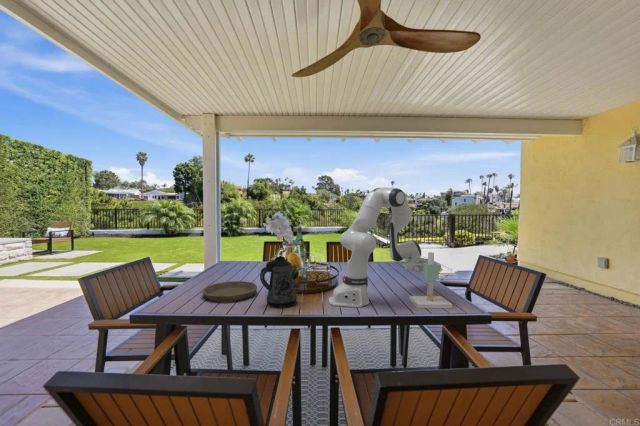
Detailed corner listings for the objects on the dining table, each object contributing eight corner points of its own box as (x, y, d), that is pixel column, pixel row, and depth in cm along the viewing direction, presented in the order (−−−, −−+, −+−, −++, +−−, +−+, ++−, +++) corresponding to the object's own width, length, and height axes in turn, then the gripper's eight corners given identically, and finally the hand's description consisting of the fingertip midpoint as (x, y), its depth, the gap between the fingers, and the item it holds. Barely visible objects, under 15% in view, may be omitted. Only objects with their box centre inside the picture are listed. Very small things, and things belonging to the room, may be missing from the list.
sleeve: (427, 279, 159) (427, 264, 159) (422, 276, 166) (423, 262, 165) (438, 279, 160) (438, 264, 159) (433, 276, 166) (434, 262, 166)
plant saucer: (190, 301, 165) (190, 292, 165) (221, 286, 195) (221, 279, 195) (241, 306, 158) (241, 297, 157) (265, 289, 188) (265, 282, 188)
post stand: (418, 308, 156) (419, 255, 155) (409, 299, 170) (410, 250, 169) (452, 308, 156) (453, 255, 155) (440, 299, 170) (441, 250, 169)
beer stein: (302, 301, 165) (303, 256, 164) (280, 312, 148) (281, 262, 148) (279, 296, 174) (279, 253, 173) (256, 306, 157) (256, 259, 156)
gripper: (401, 259, 180) (409, 263, 166) (435, 259, 181) (445, 264, 167) (401, 269, 180) (409, 275, 166) (435, 269, 181) (445, 275, 167)
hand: (427, 269), depth 167 cm, fingers open, 8 cm apart
